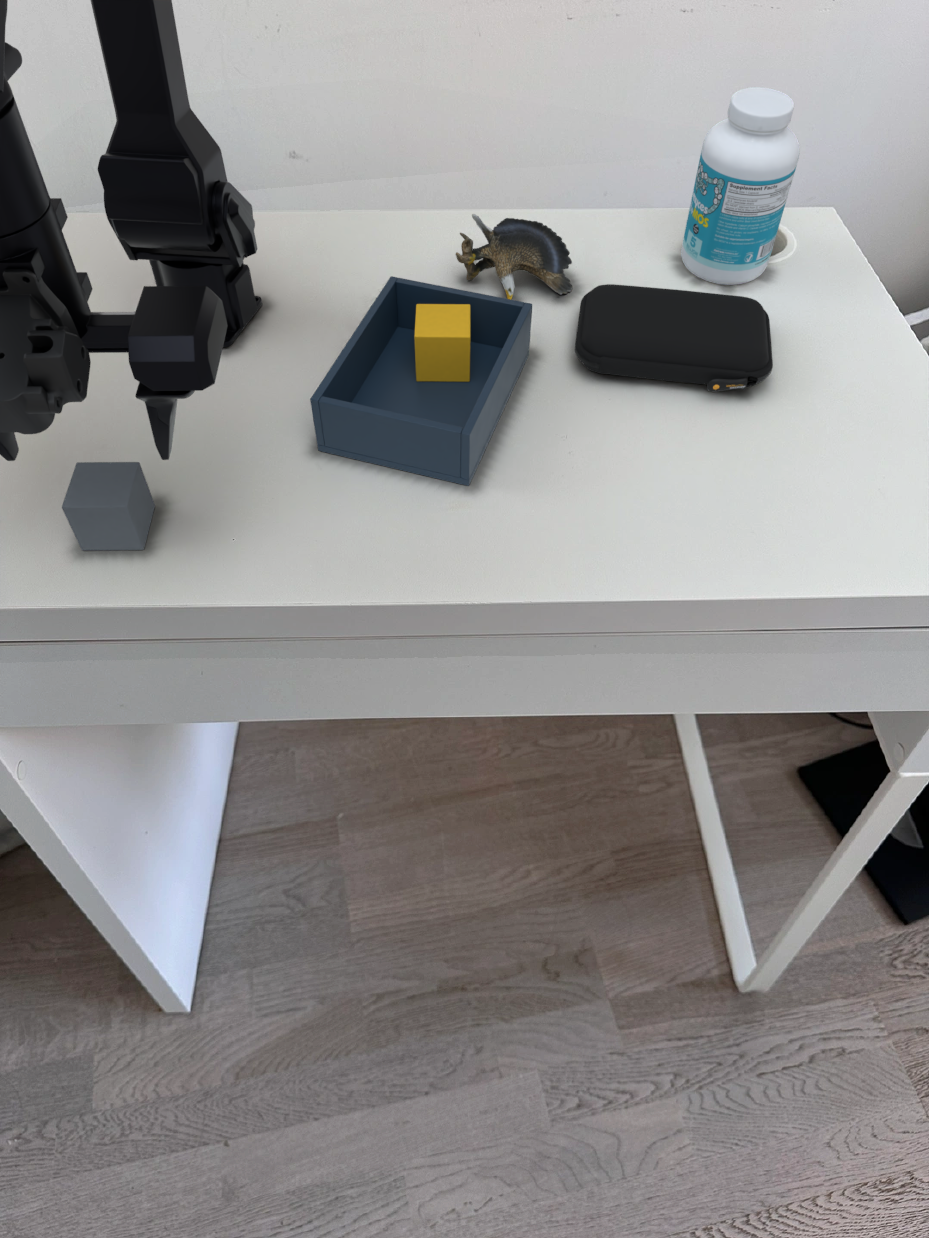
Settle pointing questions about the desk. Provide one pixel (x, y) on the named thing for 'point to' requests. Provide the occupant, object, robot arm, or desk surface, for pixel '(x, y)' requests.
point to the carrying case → (674, 336)
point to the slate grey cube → (109, 506)
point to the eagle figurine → (518, 253)
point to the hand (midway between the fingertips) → (90, 455)
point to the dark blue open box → (420, 385)
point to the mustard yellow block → (442, 342)
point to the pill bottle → (741, 188)
